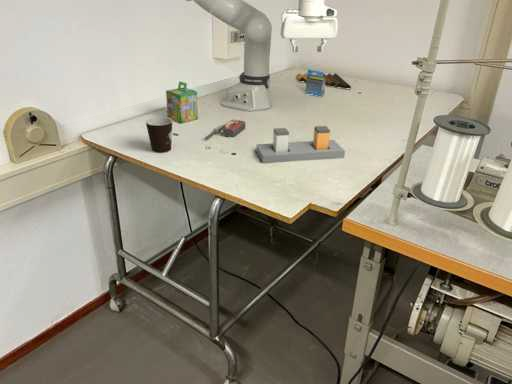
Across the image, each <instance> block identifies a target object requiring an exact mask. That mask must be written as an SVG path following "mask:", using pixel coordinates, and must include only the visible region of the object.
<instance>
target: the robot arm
mask: <svg viewBox="0 0 512 384" xmlns="http://www.w3.org/2000/svg"><path fill="white" fill-rule="evenodd" d="M186 1H187V2H189V1H193V2H195V4H197V6H199V7H200V8H201V9H202V10H204V11H205V12H207V13H209V14H210V15H211V16H213V17H215V18H216V19H218V20H220V21H221V22H222V23H225V25H228V26H230V27H232V28H234V29H235V30H237V31H239V32H241V33H243V34H244V36H243V37H244V41H243V43H244V46H243V72H241V74H240V75H238V80H239V81H238V82H237V83H235V84H234V85H233V86H232V87H230V88H229V90H227V94H226V98H224V99H223V100H222V102H221V106H222V107H227V108H230V109H231V108H232V109H235V110H242V111H246V112H252V111H253V112H254V111H259V110H260V111H263V110H267V109H269V108H271V107H272V104H271V99H270V85H271V84H270V83H271V78H270V77H271V76H270V57H271V47H272V46H271V45H272V33H273V32H272V30H273V27H272V26H273V25H272V23H271V20H270V19H269V17H268V16H267V15H266V14H265V13H264V12H263V11H261V10H260V9H258V8H256V7H254V6H253V5H251V4H250V3H248V2H246V1H244V0H186ZM325 1H326V0H298V6H297V7H298V9H285V11H283V12H282V13H281V19H280V20H281V28H280V36H281V38H282V39H285V40H287V39H288V40H289V42H290V44H291V46H292V52H293V53H297V52H298V51H299V47H298V46H296V44H295V43H296V40H298V39H299V40H307V39H309V40H315V39H317V40H318V39H320V41H321V43H320V45H319V46H317V49H316V51H317V52H318V53H323V51H324V47H325V45H326V44H327V40H331V39H332V40H333V39H336V37H337V36H338V31H339V21H338V18H337V15H338V10H336V9H335V8H332V7H330V6H328V5H325V4H326V3H325Z"/></svg>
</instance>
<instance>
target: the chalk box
mask: <svg viewBox="0 0 512 384" xmlns="http://www.w3.org/2000/svg"><path fill="white" fill-rule="evenodd" d="M187 85H188V83H187V82H183V81H179V82H178V86H177V88H173V89H168V90H165V96H166V114H167V118H170V119H172V121H174V122H176V123H178V124H184V123H188V122H191V121H195V120H198V119H199V114H198V112H199V110H198V91H196V90H194V89H190V88H188V87H187ZM182 86H183V87H182Z"/></svg>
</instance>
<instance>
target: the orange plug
mask: <svg viewBox="0 0 512 384" xmlns="http://www.w3.org/2000/svg"><path fill="white" fill-rule="evenodd" d="M313 131H314V132H313V140H312V141H313V148H314V150H323V149H328V143H329V140H330V134H331V130H330V129H329V127H328V126H327V125H317V126H314V130H313Z"/></svg>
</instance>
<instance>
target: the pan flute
mask: <svg viewBox="0 0 512 384" xmlns="http://www.w3.org/2000/svg"><path fill="white" fill-rule="evenodd" d="M315 75H318V74H317V73H315ZM295 78H296V79H297V78H298V79H297V81H298V82H299V81H305V83H306V82H307V73H306V72H305V73H303V74H301V73H300V72H298V73H297V74H296V75H295ZM323 78H325V79H326V81H325V85H327V84H328V85H329V86H334V87H336V86H337V87H342V88H343V87H344V88H350V89H351V88H352V86H351V85H350V84H349V83H348V82H347V81H346V80H344V79H343V78H342V77H341V76H340V75H338V73H335V72H334V74H333V75H332V74H331V73H330V72H329V73H328V74H325V73H324V74H323ZM328 85H327V86H328ZM335 85H336V86H335ZM329 86H328V87H329ZM337 87H336V88H337ZM344 88H343V89H344Z"/></svg>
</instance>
